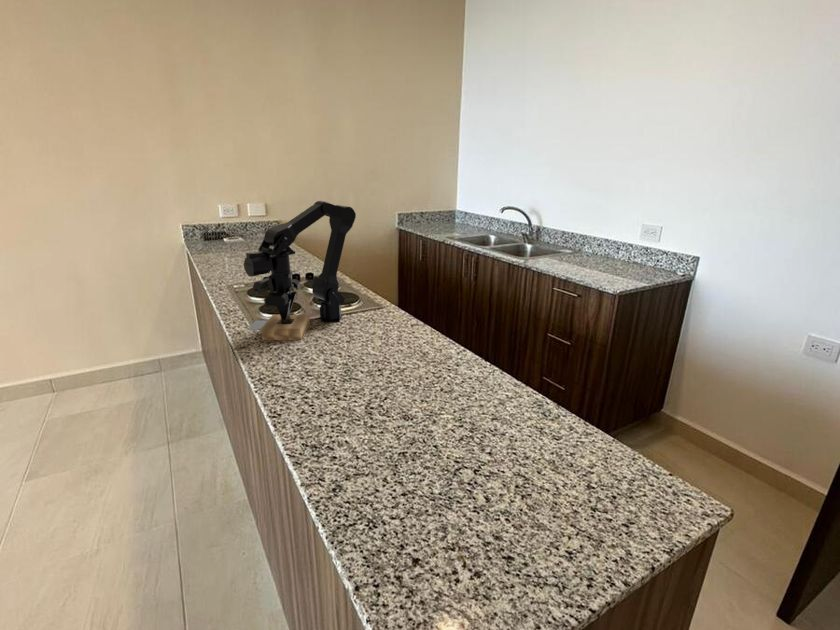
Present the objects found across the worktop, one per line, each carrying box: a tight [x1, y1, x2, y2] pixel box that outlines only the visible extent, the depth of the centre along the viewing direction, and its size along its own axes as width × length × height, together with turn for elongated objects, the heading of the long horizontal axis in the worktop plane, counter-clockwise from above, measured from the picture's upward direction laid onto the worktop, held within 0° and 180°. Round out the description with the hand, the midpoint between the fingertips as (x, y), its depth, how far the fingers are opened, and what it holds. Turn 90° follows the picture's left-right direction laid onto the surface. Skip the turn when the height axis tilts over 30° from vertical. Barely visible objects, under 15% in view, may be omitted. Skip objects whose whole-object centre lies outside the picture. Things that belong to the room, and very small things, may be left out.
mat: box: [247, 319, 268, 331], centre depth 154 cm, size 7×8×1 cm
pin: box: [279, 298, 291, 324], centre depth 147 cm, size 3×3×10 cm
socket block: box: [260, 314, 311, 341], centre depth 148 cm, size 12×12×4 cm
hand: (285, 317), depth 147 cm, fingers closed on pin, 3 cm apart
